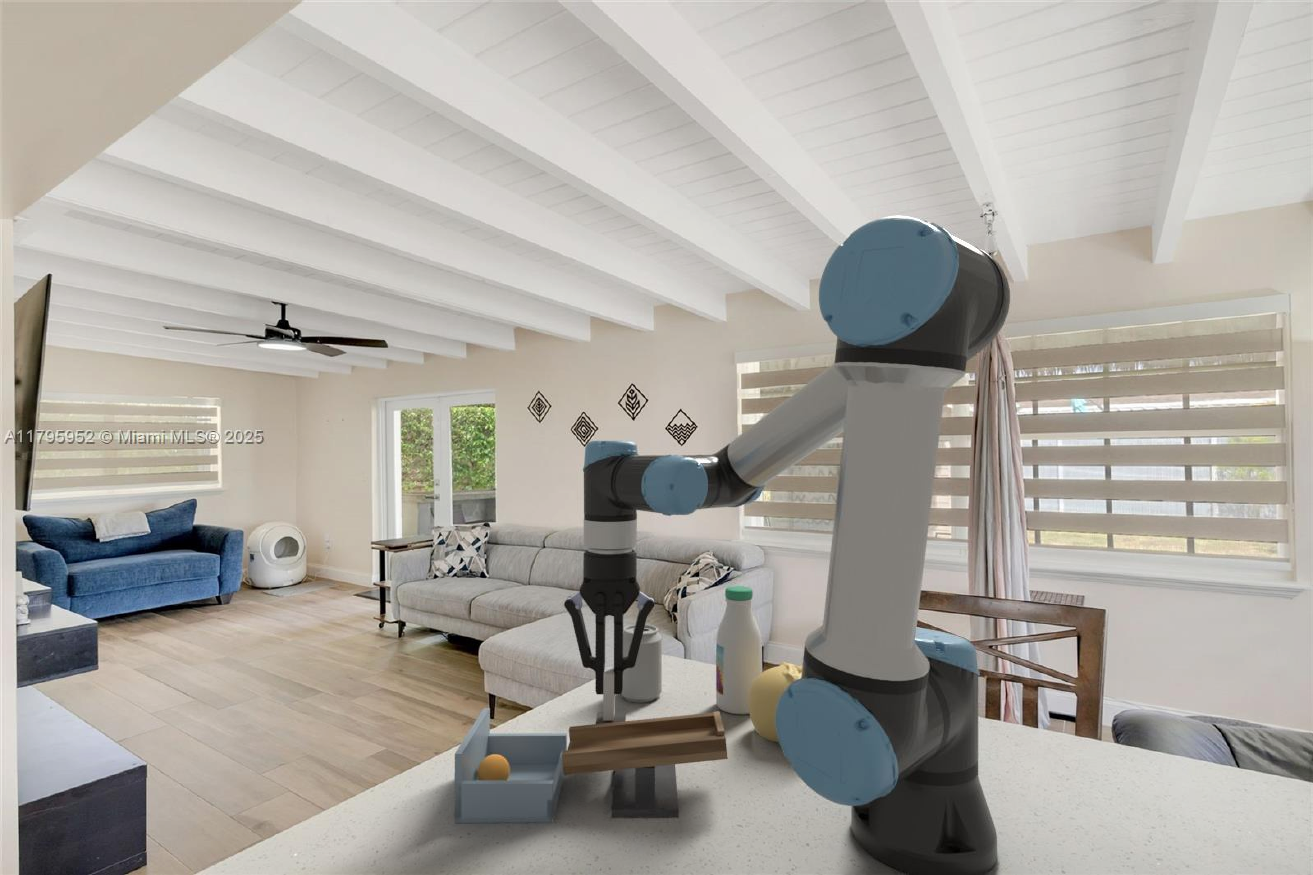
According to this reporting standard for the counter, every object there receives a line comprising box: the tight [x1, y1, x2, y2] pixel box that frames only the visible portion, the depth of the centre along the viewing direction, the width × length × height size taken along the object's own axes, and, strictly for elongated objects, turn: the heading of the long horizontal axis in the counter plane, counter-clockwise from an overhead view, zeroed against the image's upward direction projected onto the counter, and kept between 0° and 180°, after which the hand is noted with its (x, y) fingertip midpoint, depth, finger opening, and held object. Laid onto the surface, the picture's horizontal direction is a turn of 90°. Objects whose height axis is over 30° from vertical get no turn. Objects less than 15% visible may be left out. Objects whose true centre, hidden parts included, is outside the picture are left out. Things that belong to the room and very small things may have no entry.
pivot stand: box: [610, 764, 680, 819], centre depth 84 cm, size 12×8×4 cm, turn 1°
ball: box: [477, 754, 510, 780], centre depth 84 cm, size 4×4×4 cm
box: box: [453, 707, 568, 824], centre depth 84 cm, size 14×11×8 cm
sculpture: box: [749, 661, 803, 743], centre depth 100 cm, size 12×12×11 cm
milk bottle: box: [715, 585, 763, 715], centre depth 112 cm, size 8×8×20 cm
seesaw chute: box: [562, 708, 728, 776], centre depth 88 cm, size 16×20×3 cm
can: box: [620, 623, 663, 703], centre depth 116 cm, size 8×8×12 cm
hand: (609, 716), depth 93 cm, fingers closed
